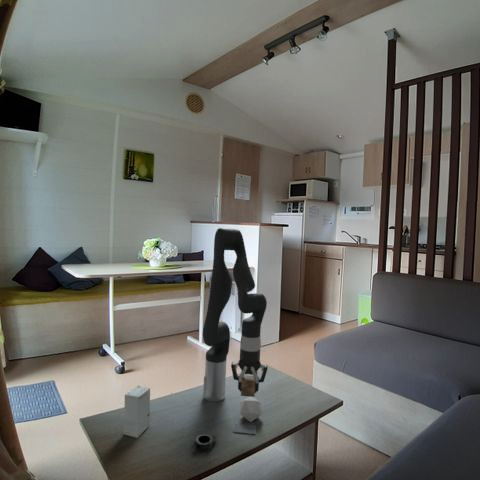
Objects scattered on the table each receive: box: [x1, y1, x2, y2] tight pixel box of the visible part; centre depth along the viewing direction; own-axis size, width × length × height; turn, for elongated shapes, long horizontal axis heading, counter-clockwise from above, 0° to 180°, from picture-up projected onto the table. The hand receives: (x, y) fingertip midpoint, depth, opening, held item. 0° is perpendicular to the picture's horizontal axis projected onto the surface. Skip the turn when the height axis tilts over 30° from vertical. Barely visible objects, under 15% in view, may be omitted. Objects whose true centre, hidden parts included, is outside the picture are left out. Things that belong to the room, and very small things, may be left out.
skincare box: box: [123, 385, 151, 439], centre depth 128 cm, size 8×6×15 cm
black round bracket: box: [190, 433, 218, 454], centre depth 121 cm, size 8×10×3 cm
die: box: [239, 396, 263, 423], centre depth 139 cm, size 8×9×10 cm
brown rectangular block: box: [240, 374, 256, 398], centre depth 130 cm, size 5×4×6 cm
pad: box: [233, 423, 257, 435], centre depth 131 cm, size 8×5×1 cm, turn 85°
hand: (248, 391), depth 131 cm, fingers closed on brown rectangular block, 5 cm apart
